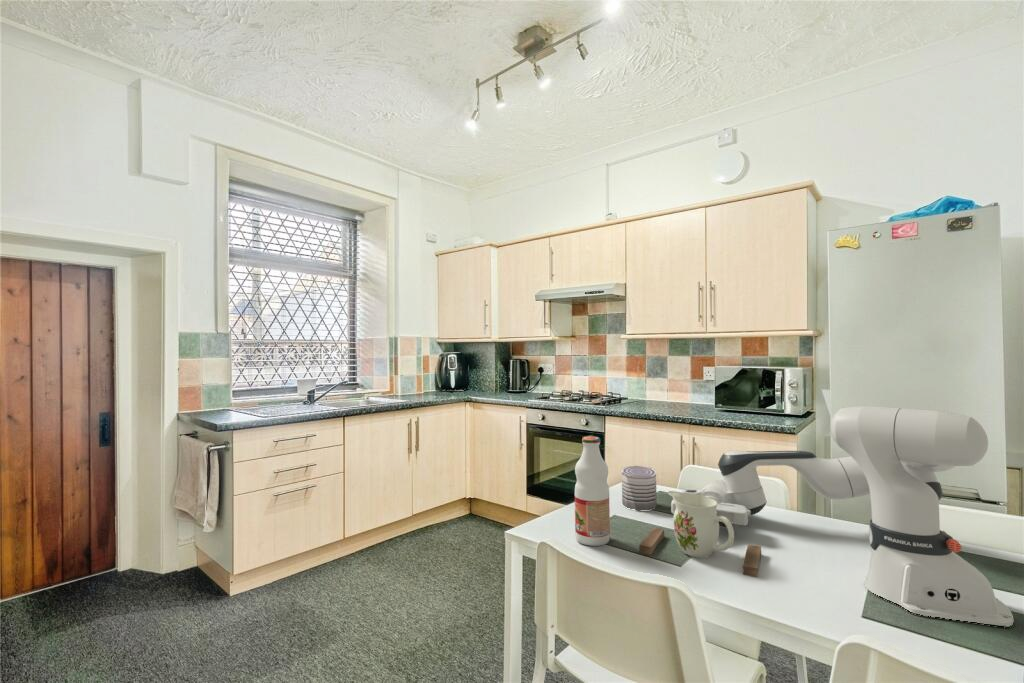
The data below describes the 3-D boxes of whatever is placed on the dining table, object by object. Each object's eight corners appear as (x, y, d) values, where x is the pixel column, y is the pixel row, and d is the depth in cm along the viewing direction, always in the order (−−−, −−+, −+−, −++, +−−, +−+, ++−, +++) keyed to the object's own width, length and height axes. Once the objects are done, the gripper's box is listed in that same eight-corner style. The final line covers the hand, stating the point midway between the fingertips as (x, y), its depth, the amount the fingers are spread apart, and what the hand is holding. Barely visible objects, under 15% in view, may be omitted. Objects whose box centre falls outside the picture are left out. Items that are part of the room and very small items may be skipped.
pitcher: (721, 572, 110) (720, 513, 110) (656, 547, 124) (655, 495, 125) (745, 560, 117) (744, 503, 117) (681, 537, 131) (680, 487, 131)
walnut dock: (761, 554, 120) (761, 546, 120) (757, 577, 108) (757, 568, 108) (653, 534, 133) (653, 527, 133) (639, 552, 121) (639, 544, 121)
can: (659, 503, 161) (658, 467, 162) (654, 513, 151) (654, 475, 151) (625, 499, 166) (624, 464, 166) (618, 509, 156) (618, 472, 156)
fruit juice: (604, 549, 124) (602, 441, 124) (570, 543, 128) (569, 439, 129) (614, 536, 132) (612, 436, 133) (581, 531, 136) (580, 433, 137)
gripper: (751, 521, 135) (747, 537, 123) (677, 510, 146) (667, 524, 134) (751, 499, 135) (746, 513, 123) (677, 489, 146) (666, 501, 134)
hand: (704, 519), depth 129 cm, fingers closed
